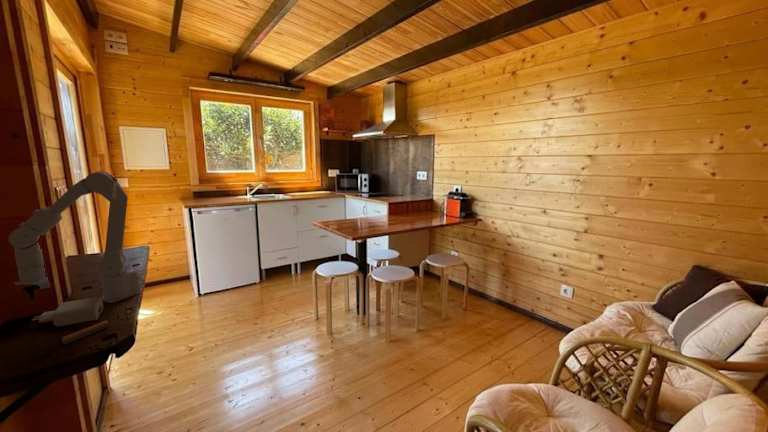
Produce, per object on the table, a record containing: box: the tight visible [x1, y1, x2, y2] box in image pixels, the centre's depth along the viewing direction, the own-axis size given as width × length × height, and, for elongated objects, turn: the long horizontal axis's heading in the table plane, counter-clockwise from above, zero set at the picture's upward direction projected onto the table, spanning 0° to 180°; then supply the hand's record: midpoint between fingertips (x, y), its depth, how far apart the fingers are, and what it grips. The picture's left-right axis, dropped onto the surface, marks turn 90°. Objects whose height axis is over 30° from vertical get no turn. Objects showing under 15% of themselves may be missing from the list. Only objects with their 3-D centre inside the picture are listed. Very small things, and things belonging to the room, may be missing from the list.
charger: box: [30, 296, 104, 328], centre depth 98 cm, size 5×9×15 cm
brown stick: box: [61, 320, 110, 345], centre depth 90 cm, size 10×1×2 cm, turn 156°
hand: (38, 305), depth 102 cm, fingers closed
